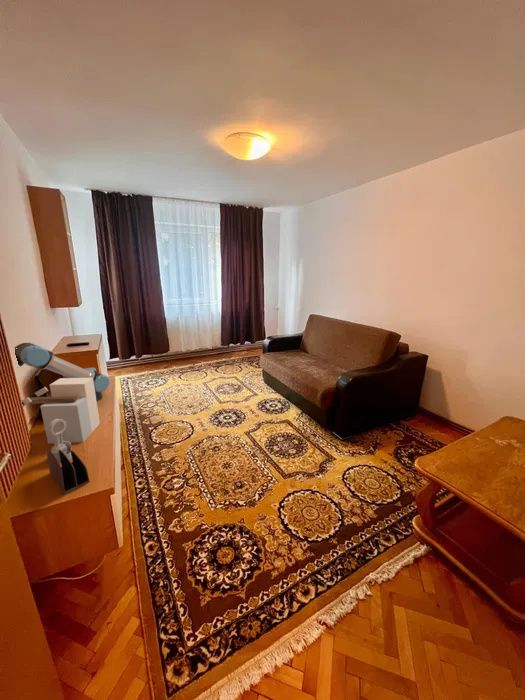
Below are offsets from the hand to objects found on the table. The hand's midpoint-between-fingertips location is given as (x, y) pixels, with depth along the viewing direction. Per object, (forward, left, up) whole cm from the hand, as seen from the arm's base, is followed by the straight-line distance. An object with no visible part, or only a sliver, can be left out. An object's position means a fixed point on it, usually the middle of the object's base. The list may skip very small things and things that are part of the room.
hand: (38, 393), depth 150 cm
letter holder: (+34, +29, -27) cm, 52 cm away
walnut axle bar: (0, +6, -5) cm, 8 cm away
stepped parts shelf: (-5, +12, -27) cm, 30 cm away
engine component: (+18, +17, -27) cm, 37 cm away
